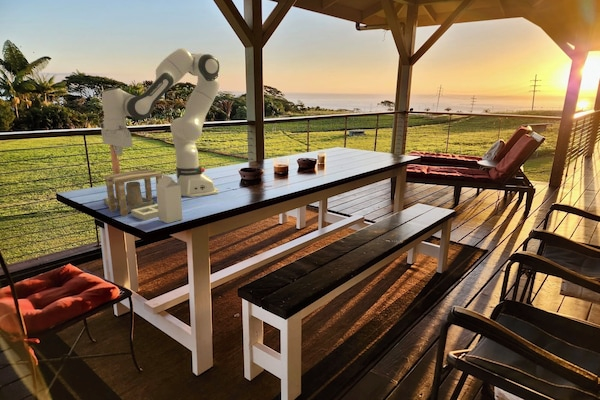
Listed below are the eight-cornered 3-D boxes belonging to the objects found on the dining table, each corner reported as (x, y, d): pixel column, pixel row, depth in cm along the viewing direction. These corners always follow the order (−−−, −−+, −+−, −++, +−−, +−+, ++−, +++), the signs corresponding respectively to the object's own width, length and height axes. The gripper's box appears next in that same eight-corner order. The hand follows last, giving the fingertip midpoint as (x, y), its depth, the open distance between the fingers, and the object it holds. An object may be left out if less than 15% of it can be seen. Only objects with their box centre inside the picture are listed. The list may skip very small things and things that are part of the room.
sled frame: (155, 205, 181) (149, 146, 173) (125, 212, 170) (119, 150, 163) (132, 198, 193) (126, 142, 185) (103, 204, 182) (96, 145, 174)
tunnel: (165, 206, 181) (162, 172, 177) (123, 216, 166) (119, 179, 161) (149, 201, 189) (146, 168, 184) (109, 210, 174) (104, 175, 169)
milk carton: (167, 223, 158) (163, 178, 153) (158, 219, 163) (154, 175, 158) (182, 219, 164) (179, 175, 158) (173, 216, 168) (170, 173, 163)
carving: (138, 204, 183) (135, 180, 180) (146, 208, 178) (144, 182, 175) (125, 207, 178) (122, 182, 175) (133, 211, 174) (130, 185, 170)
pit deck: (173, 212, 172) (173, 207, 172) (144, 220, 162) (143, 214, 161) (160, 208, 178) (160, 203, 178) (131, 215, 168) (131, 210, 167)
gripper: (134, 126, 171) (137, 157, 174) (111, 123, 183) (114, 152, 186) (120, 127, 166) (124, 159, 170) (97, 124, 178) (101, 153, 182)
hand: (118, 155), depth 178 cm, fingers closed
